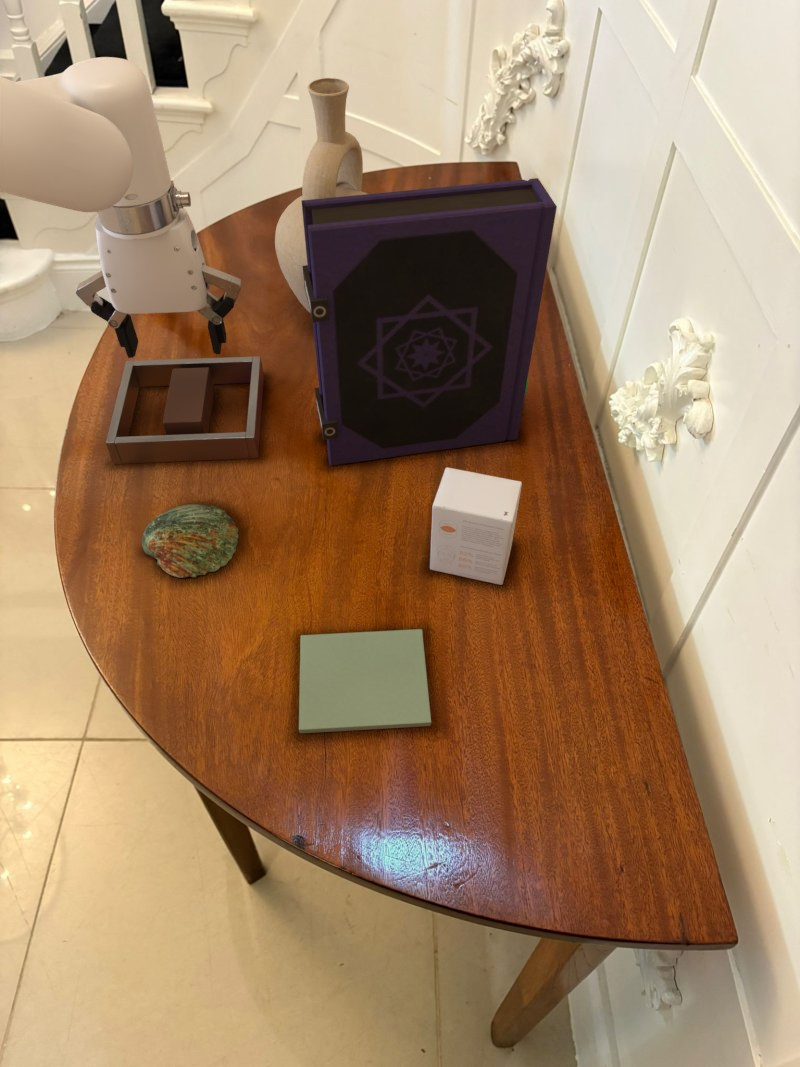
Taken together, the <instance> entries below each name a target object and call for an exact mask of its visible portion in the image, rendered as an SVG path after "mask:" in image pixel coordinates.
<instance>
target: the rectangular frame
mask: <svg viewBox="0 0 800 1067" xmlns="http://www.w3.org/2000/svg"><path fill="white" fill-rule="evenodd" d="M206 367H208V368H209V370H210V375H211V379H212V384H213V385H227V384H249V394H248V396H249V397H248V408H247V418H246V430H245V431H235V432H233V431H232V432H209V433H206V434H180V435H166V434H162V435H161V434H160V435H159V434H156V435H131V436H130V433H131V428H132V424H133V419H134V414H135V409H136V405H137V401H138V396H139V392H140V389H141V388H145V387H146V388H147V387H169V386H170V381H171V376H172V370H173V369H178V368H206ZM121 376H122V377H121V381H120V386H119V389H118V393H117V396H116V400H115V404H114V408H113V412H112V416H111V420H110V424H109V428H108V432H107V436H106V441H105V445H106V447H107V450H108V453H109V455H110V457H111V460H112V463H113V465H122V464H123V465H126V464H127V465H128V464H129V465H130V464H150V463H153V464H154V463H175V462H178V463H179V462H199V461H202V462H203V461H224V460H225V461H226V460H247V459H248V460H249V459H250V460H251V459H259V453H260V440H261V424H262V410H263V398H264V382H265V375H264V370H263V363H262V357H261V356H259V355H258V356H229V357H228V356H227V357H202V358H200V357H199V358H173V359H172V358H171V359H167V358H166V359H141V360H140V359H139V360H126V361H125V364H124V368H123V372H122V375H121Z"/></svg>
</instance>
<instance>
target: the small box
mask: <svg viewBox="0 0 800 1067" xmlns="http://www.w3.org/2000/svg"><path fill="white" fill-rule="evenodd" d="M522 487H523V483H522V481H520V480H515V479H510V478H505V477H499V476H494V475H489V474H484V473H478V472H473V471H469V470H463V469H458V468H452V467H445V468H444V471H443V474H442V477H441V480H440V483H439V486H438V488H437V491H436V494H435V497H434V501H433V503H432V508H431V530H430V531H431V534H430V552H429V553H430V554H429V557H430V558H429V570H430V571H435V572H440V573H445V574H448V575H449V574H450V575H454V576H456V577H457V576H458V577H462V578H466V579H472V580H476V581H481V582H486V583H489V584H490V583H491V584H494V585H500V586H502V585H504V580H505V577H506V572H507V568H508V564H509V559H510V555H511V550H512V547H513V540H514V535H515V529H516V523H517V517H518V511H519V505H520V498H521V492H522Z"/></svg>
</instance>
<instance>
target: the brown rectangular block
mask: <svg viewBox="0 0 800 1067" xmlns="http://www.w3.org/2000/svg"><path fill="white" fill-rule="evenodd" d="M214 397H215V389H214V384H212V379H211V375H210V370H209V368H208V367H206V368H178V369H173V370H172V376H171V381H170V386H168V392H167V397H166V402H165V408H164V413H163V419H162V426H163V429H164V432H165V435H180V434H206V433H210V428H211V421H212V412H213V407H214V406H213V405H214Z"/></svg>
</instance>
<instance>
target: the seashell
mask: <svg viewBox="0 0 800 1067" xmlns="http://www.w3.org/2000/svg"><path fill="white" fill-rule="evenodd" d="M238 533H239V528H238V527H237V526H236V523H235V522H234V520H233V518H232V517H231V516H229V515H228V513H227V512H226V510H224V509H221V508H220V507H218V506H215V505H210V504H204V503H203V504H202V503H188V504H182V505H178V506H175V507H173V508H170V509H167V510H166V511H164V512H162V513H160V514H159V515H157V516H156V517H155V518H154V519H153V520H152V521H151V522H149V523H148V525H146V527H145V529H144V531H143V533H142V537H141V547H142V550H143V552H144V553H145V554H146V555H148V556H149V557H151V558H153V559H155V560H157V562H156V565H157V566H158V567H160V568H161V570H163V572H165V573H167V574H168V575H170V576H173V577H176V578H181V579H184V578H189V577H191V578H197V577H198V576H205V575H207V573H214V572H216V571H218V570H220V568H221V567H225V566H227V565H228V563H229V561H230V560H232V558H233V557H234V554H235V553H236V551H237V546H238V539H239V537H240V536H239V534H238Z"/></svg>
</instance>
